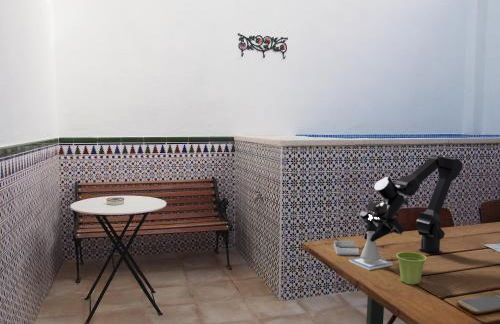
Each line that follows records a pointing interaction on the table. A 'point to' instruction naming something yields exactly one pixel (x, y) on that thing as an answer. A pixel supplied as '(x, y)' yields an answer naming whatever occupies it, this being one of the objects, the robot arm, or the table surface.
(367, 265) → the white tile
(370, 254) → the flask
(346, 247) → the grey u-shaped bracket
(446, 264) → the table surface
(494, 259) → the table surface
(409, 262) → the plant pot
